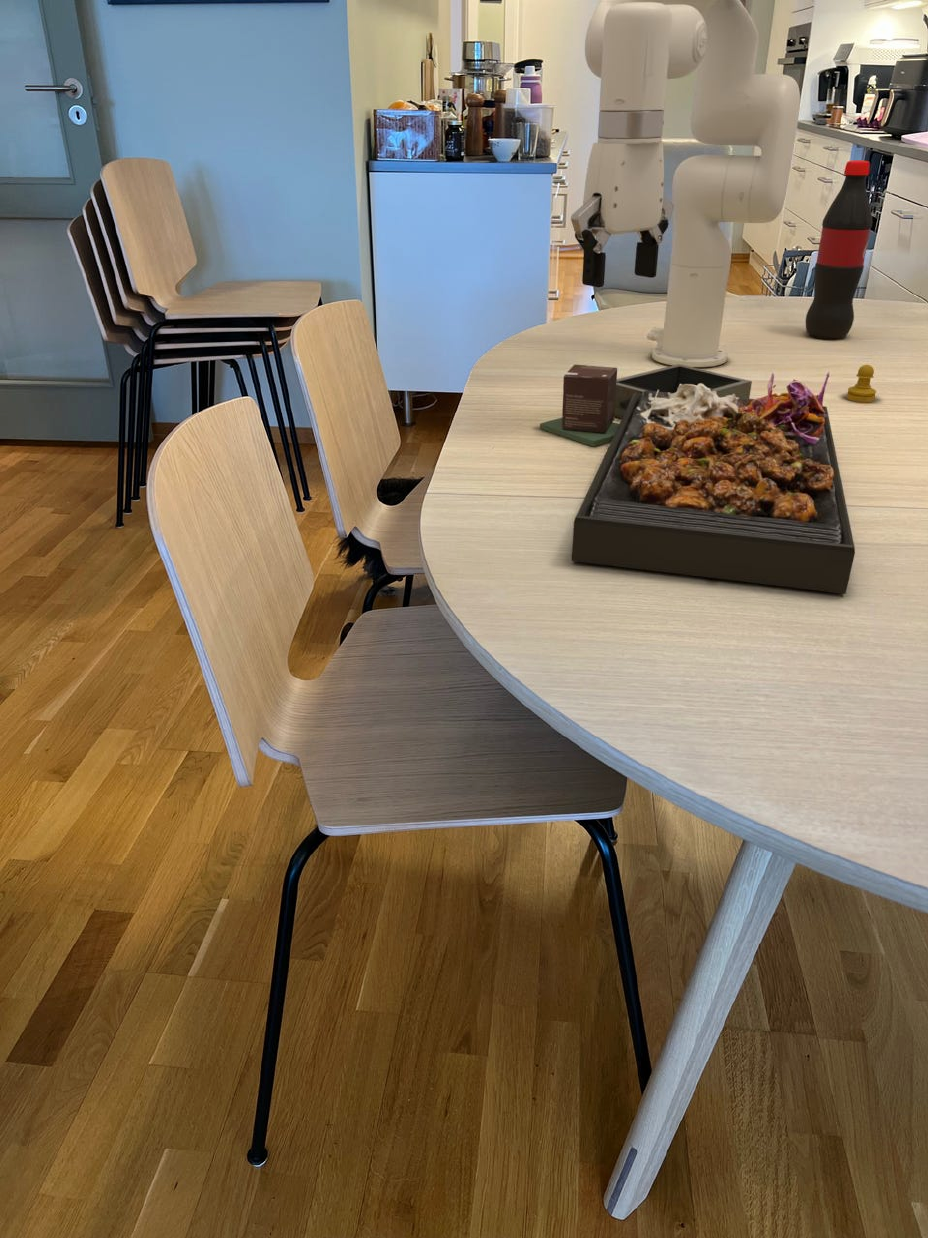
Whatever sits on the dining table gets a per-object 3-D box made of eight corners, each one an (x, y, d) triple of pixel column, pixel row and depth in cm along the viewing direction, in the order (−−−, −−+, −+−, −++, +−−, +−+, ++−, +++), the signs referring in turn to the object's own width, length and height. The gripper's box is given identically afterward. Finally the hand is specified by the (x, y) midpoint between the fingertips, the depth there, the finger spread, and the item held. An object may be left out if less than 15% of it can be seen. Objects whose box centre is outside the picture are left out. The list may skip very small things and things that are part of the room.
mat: (539, 428, 125) (540, 423, 124) (581, 417, 129) (581, 412, 129) (593, 447, 118) (594, 441, 118) (635, 434, 122) (635, 428, 122)
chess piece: (876, 402, 135) (884, 368, 133) (848, 401, 136) (855, 367, 134) (871, 395, 139) (879, 362, 136) (844, 394, 139) (851, 361, 137)
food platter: (630, 424, 125) (637, 347, 120) (820, 440, 119) (836, 359, 114) (571, 560, 87) (578, 456, 82) (845, 593, 81) (870, 483, 76)
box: (614, 421, 125) (619, 367, 121) (605, 434, 120) (610, 378, 116) (570, 417, 127) (573, 363, 123) (560, 429, 122) (563, 374, 118)
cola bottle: (851, 333, 177) (886, 159, 162) (848, 342, 170) (883, 161, 155) (805, 329, 180) (835, 158, 165) (800, 338, 173) (830, 160, 159)
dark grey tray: (603, 413, 131) (605, 381, 129) (675, 393, 140) (678, 363, 138) (675, 434, 122) (679, 401, 120) (747, 412, 131) (752, 381, 129)
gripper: (654, 125, 116) (642, 269, 124) (555, 130, 106) (549, 285, 115) (702, 126, 111) (686, 276, 119) (602, 131, 101) (593, 293, 110)
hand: (619, 280), depth 117 cm, fingers open, 9 cm apart
